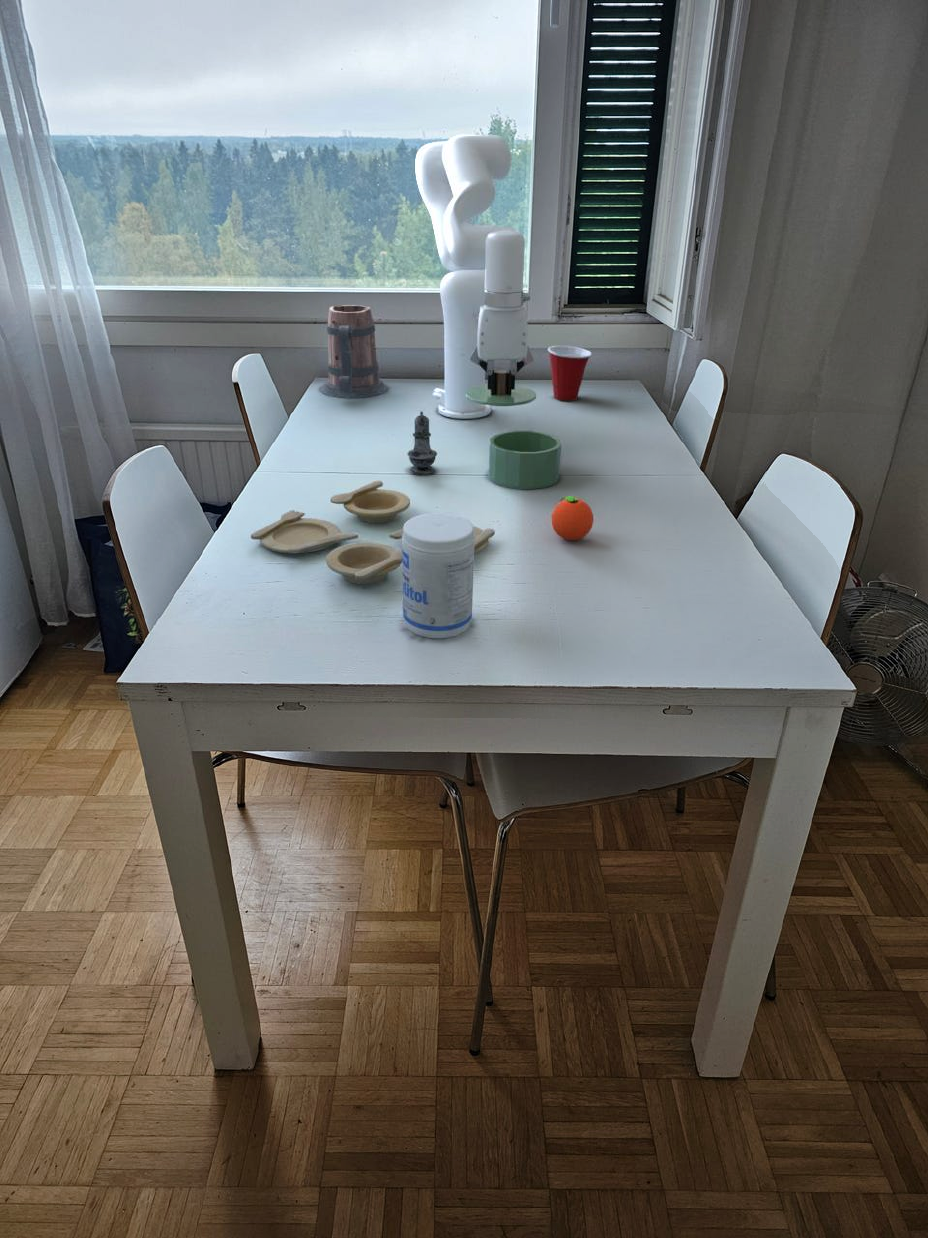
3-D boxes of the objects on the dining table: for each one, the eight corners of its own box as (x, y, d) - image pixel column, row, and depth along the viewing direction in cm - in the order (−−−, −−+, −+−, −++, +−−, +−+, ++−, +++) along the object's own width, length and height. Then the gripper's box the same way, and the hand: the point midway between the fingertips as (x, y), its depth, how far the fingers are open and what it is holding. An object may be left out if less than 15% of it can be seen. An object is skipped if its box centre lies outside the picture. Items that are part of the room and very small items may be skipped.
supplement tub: (389, 625, 120) (385, 527, 112) (434, 600, 126) (434, 505, 119) (441, 649, 114) (441, 548, 107) (486, 622, 121) (489, 524, 113)
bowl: (490, 489, 164) (491, 453, 161) (487, 464, 176) (488, 430, 172) (561, 489, 164) (564, 453, 161) (554, 464, 176) (557, 430, 173)
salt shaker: (439, 466, 175) (438, 407, 169) (435, 476, 170) (434, 416, 164) (410, 464, 175) (408, 406, 169) (405, 475, 170) (404, 414, 164)
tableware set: (512, 547, 142) (513, 524, 140) (379, 611, 123) (378, 586, 121) (369, 491, 162) (368, 471, 160) (236, 538, 144) (233, 516, 142)
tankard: (327, 379, 232) (321, 300, 222) (390, 380, 231) (387, 301, 221) (310, 404, 211) (303, 319, 201) (379, 405, 211) (376, 320, 201)
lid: (466, 408, 175) (466, 380, 172) (465, 389, 187) (465, 362, 185) (538, 409, 175) (540, 380, 172) (533, 390, 188) (534, 363, 185)
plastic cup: (590, 404, 214) (594, 354, 208) (546, 403, 214) (549, 354, 208) (585, 392, 223) (589, 344, 217) (543, 391, 223) (546, 343, 217)
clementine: (539, 531, 148) (542, 491, 144) (575, 525, 150) (578, 486, 146) (562, 550, 141) (565, 509, 138) (599, 543, 144) (603, 503, 140)
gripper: (543, 296, 175) (538, 388, 184) (462, 296, 175) (461, 388, 184) (546, 303, 168) (541, 398, 177) (462, 303, 168) (461, 397, 177)
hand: (500, 392), depth 180 cm, fingers closed on lid, 2 cm apart
